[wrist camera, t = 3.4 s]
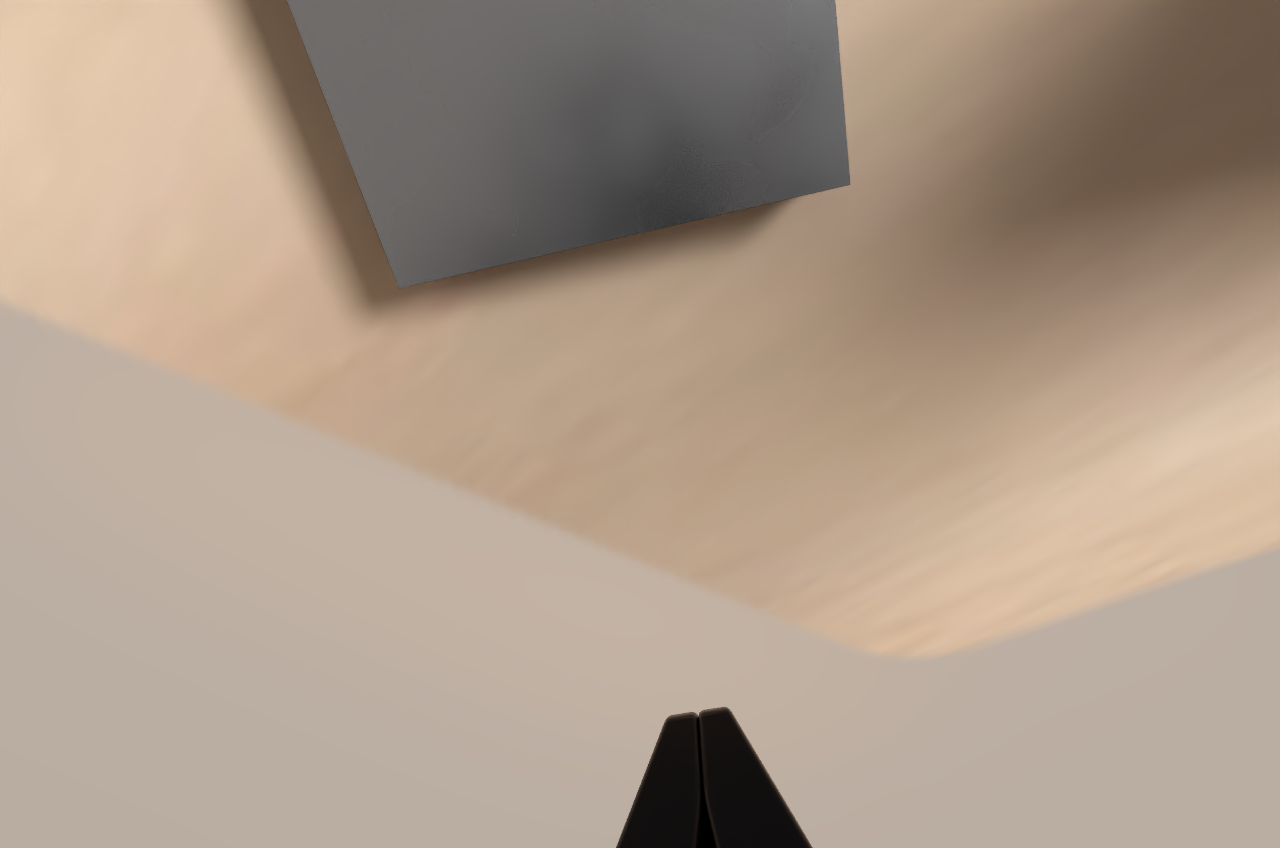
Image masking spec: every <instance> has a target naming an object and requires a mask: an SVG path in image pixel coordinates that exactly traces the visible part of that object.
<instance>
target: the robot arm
mask: <svg viewBox="0 0 1280 848" xmlns="http://www.w3.org/2000/svg"><path fill="white" fill-rule="evenodd" d="M616 848H812V846H811V844H810V843H809V841H808V839H807V838H806V836H805V834H804V833H803V831H802V829H801V828H800V826H799V824H798V822H797V821H796V819H795V817H794V816H793V814H792V812H791V811H790V809H789V807H788V806H787V804H786V802H785V801H784V799H783V797H782V796H781V794H780V792H779V791H778V789H777V788H776V786H775V784H774V782H773V781H772V779H771V777H770V776H769V774H768V772H767V771H766V769H765V767H764V765H763V764H762V762H761V760H760V759H759V757H758V755H757V754H756V752H755V751H754V749H753V747H752V745H751V744H750V742H749V740H748V739H747V737H746V735H745V734H744V732H743V730H742V729H741V727H740V725H739V724H738V722H737V720H736V719H735V717H734V715H733V714H732V712H731V711H730V709H728V708H727V707H721V708H714V709H707V710H703V711H701V712H700V713H699V716H698V715H697V714H696V713H694V712H689V713H683V714H676V715H671V716H669V717H668V718H667V719H666V721H665V723H664V725H663V728H662V731H661V733H660V735H659V738H658V741H657V743H656V746H655V748H654V751H653V754H652V757H651V759H650V761H649V764H648V767H647V769H646V772H645V774H644V777H643V779H642V782H641V785H640V787H639V790H638V792H637V795H636V798H635V800H634V803H633V805H632V808H631V811H630V813H629V816H628V818H627V821H626V823H625V826H624V829H623V831H622V834H621V836H620V839H619V842H618V844H617V847H616Z"/></svg>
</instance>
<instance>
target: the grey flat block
mask: <svg viewBox="0 0 1280 848" xmlns="http://www.w3.org/2000/svg"><path fill="white" fill-rule="evenodd" d="M287 2H288V5H289V7H290V10H291V12H292V15H293V18H294V20H295V23H296V25H297V28H298V30H299V33H300V36H301V38H302V41H303V43H304V46H305V48H306V51H307V54H308V56H309V59H310V61H311V64H312V66H313V69H314V72H315V74H316V77H317V79H318V82H319V84H320V87H321V89H322V92H323V95H324V97H325V100H326V102H327V105H328V107H329V110H330V113H331V115H332V118H333V120H334V123H335V125H336V128H337V131H338V133H339V136H340V138H341V141H342V143H343V146H344V148H345V151H346V154H347V156H348V159H349V161H350V164H351V166H352V169H353V172H354V174H355V177H356V179H357V182H358V184H359V187H360V190H361V192H362V195H363V197H364V200H365V202H366V205H367V208H368V210H369V213H370V215H371V218H372V220H373V223H374V225H375V228H376V231H377V233H378V236H379V238H380V241H381V243H382V246H383V249H384V251H385V254H386V256H387V259H388V261H389V264H390V267H391V269H392V272H393V274H394V277H395V279H396V282H397V284H398V287H399V288H403V287H408V286H412V285H416V284H421V283H425V282H429V281H434V280H438V279H442V278H447V277H451V276H455V275H460V274H464V273H469V272H473V271H477V270H482V269H486V268H490V267H495V266H499V265H503V264H508V263H512V262H516V261H521V260H525V259H529V258H534V257H538V256H542V255H547V254H551V253H556V252H560V251H564V250H569V249H573V248H577V247H582V246H586V245H590V244H595V243H599V242H603V241H608V240H612V239H616V238H621V237H625V236H629V235H634V234H638V233H643V232H647V231H651V230H656V229H660V228H664V227H669V226H673V225H677V224H682V223H686V222H690V221H695V220H699V219H703V218H708V217H712V216H716V215H721V214H725V213H730V212H734V211H738V210H743V209H747V208H751V207H756V206H760V205H764V204H769V203H773V202H777V201H782V200H786V199H790V198H795V197H799V196H803V195H808V194H812V193H817V192H821V191H825V190H830V189H834V188H838V187H843V186H847V185H850V175H849V163H848V151H847V139H846V126H845V114H844V102H843V90H842V78H841V66H840V54H839V41H838V29H837V17H836V5H835V0H287Z"/></svg>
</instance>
